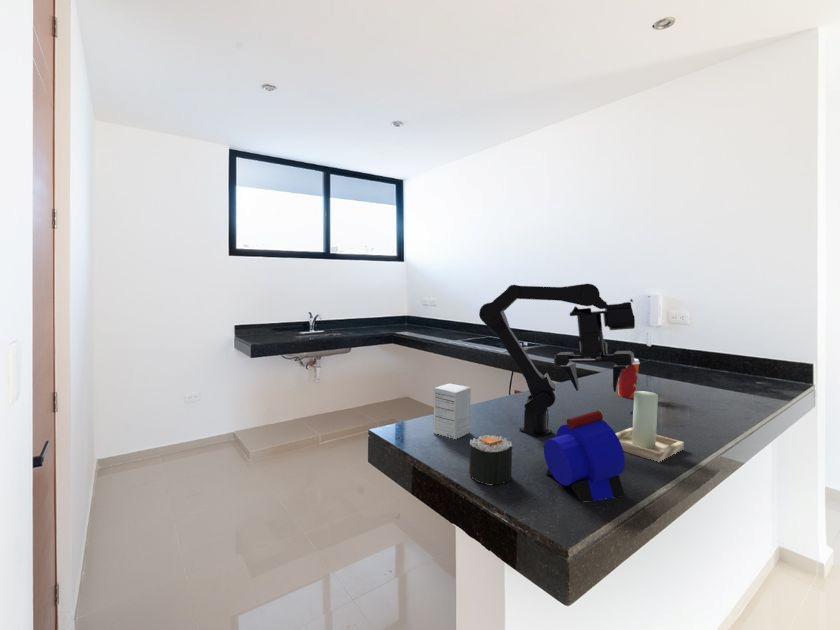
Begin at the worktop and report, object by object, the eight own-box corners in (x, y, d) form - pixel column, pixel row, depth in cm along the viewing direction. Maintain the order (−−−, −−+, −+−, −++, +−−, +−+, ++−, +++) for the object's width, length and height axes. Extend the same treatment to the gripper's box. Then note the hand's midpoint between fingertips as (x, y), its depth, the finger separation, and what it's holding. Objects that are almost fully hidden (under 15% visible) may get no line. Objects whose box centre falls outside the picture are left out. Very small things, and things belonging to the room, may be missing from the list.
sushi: (518, 478, 86) (519, 440, 85) (489, 489, 81) (490, 449, 80) (490, 464, 92) (491, 429, 92) (461, 474, 88) (462, 436, 87)
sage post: (645, 450, 100) (648, 397, 100) (627, 442, 105) (629, 392, 104) (660, 447, 102) (663, 395, 102) (641, 440, 107) (644, 390, 106)
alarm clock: (627, 496, 79) (631, 419, 78) (572, 505, 76) (576, 424, 75) (585, 469, 91) (587, 401, 90) (535, 475, 87) (538, 405, 86)
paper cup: (642, 399, 150) (644, 360, 149) (621, 398, 150) (622, 360, 149) (631, 393, 158) (633, 357, 157) (611, 393, 158) (613, 356, 157)
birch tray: (658, 462, 95) (659, 453, 95) (604, 444, 105) (605, 436, 105) (683, 450, 102) (684, 442, 102) (630, 434, 113) (631, 427, 113)
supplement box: (448, 426, 117) (449, 382, 116) (470, 433, 112) (471, 387, 112) (432, 433, 111) (433, 387, 111) (455, 440, 107) (456, 392, 106)
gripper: (634, 326, 109) (639, 385, 110) (562, 330, 120) (567, 383, 120) (628, 331, 100) (634, 395, 101) (550, 334, 111) (556, 392, 111)
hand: (595, 391), depth 108 cm, fingers open, 9 cm apart
